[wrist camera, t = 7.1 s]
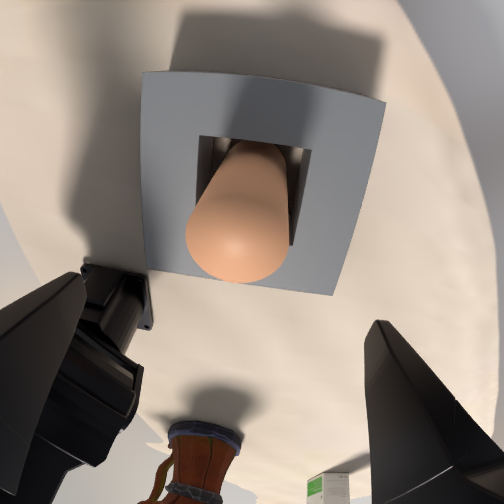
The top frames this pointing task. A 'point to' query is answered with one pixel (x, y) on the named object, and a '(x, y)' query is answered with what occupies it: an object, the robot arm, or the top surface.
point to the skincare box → (328, 489)
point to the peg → (242, 215)
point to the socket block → (262, 130)
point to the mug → (195, 464)
